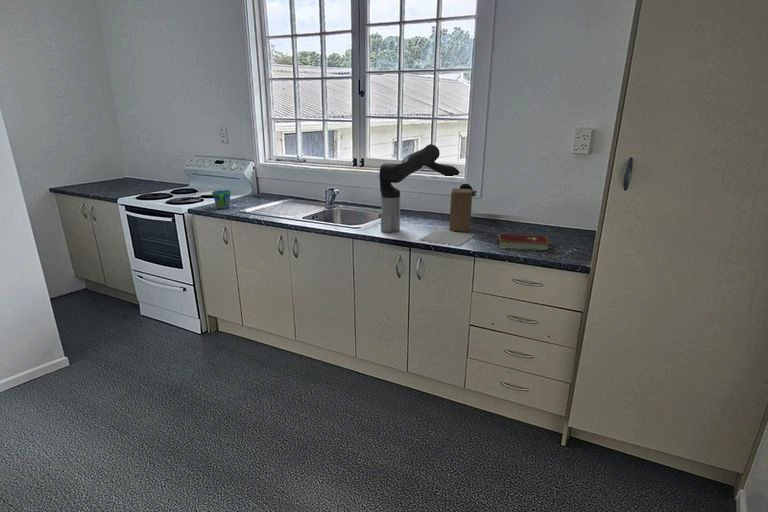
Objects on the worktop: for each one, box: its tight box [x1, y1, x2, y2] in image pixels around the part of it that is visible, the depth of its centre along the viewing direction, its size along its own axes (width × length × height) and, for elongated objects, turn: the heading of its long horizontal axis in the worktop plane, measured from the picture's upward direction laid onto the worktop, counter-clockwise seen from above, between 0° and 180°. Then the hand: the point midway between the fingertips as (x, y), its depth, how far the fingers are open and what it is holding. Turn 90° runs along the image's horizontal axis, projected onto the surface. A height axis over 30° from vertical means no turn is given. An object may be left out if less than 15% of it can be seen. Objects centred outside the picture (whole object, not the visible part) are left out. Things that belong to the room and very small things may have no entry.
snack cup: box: [211, 189, 232, 210], centre depth 275 cm, size 16×10×10 cm
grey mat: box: [418, 228, 475, 247], centre depth 215 cm, size 21×20×1 cm
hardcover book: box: [498, 233, 550, 250], centre depth 203 cm, size 12×21×4 cm, turn 77°
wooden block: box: [449, 188, 473, 233], centre depth 226 cm, size 10×10×20 cm
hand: (463, 196), depth 234 cm, fingers closed
